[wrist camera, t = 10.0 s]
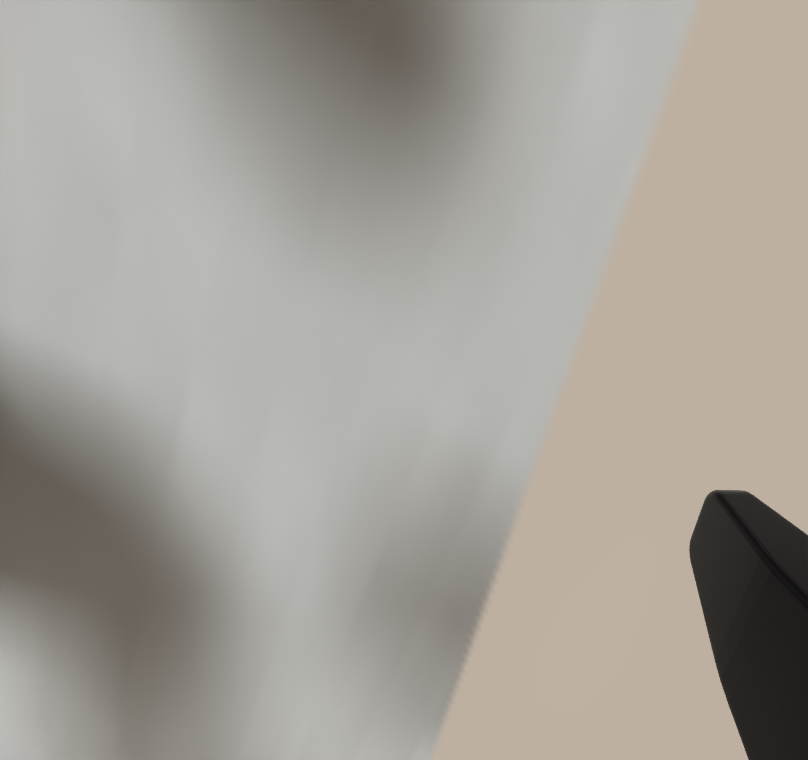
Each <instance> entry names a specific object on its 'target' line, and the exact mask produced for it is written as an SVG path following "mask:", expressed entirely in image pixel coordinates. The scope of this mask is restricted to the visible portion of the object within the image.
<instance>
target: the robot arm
mask: <svg viewBox="0 0 808 760" xmlns="http://www.w3.org/2000/svg"><path fill="white" fill-rule="evenodd" d="M690 559H691V564H692V568H693V572H694V577H695V580H696V585H697V589H698V593H699V597H700V601H701V605H702V609H703V613H704V617H705V622H706V626H707V630H708V634H709V638H710V642H711V646H712V650H713V654H714V658H715V662H716V666H717V670H718V673H719V677H720V680H721V683H722V686H723V689H724V692H725V695H726V698H727V701H728V704H729V707H730V710H731V712H732V715H733V717H734V721H735V723H736V726H737V729H738V731H739V734H740V737H741V740H742V742H743V745H744V748H745V751H746V753H747V756H748V759H749V760H808V535H807V534H805V533H804V532H803V531H801V530H800V529H799V528H797V527H796V526H794V525H793V524H792V523H790V522H789V521H788V520H786V519H785V518H784V517H782V516H781V515H780V514H778V513H777V512H775V511H774V510H773V509H771V508H770V507H769V506H767V505H766V504H764V503H763V502H761V501H760V500H759V499H758V498H756V497H755V496H754V495H752V494H750V493H749V492H746V491H739V490H715V491H712V492H710V493H709V494H708V495H707V497H706V499H705V501H704V504H703V507H702V509H701V512H700V515H699V517H698V520H697V523H696V526H695V529H694V531H693V534H692V537H691V541H690Z"/></svg>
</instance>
